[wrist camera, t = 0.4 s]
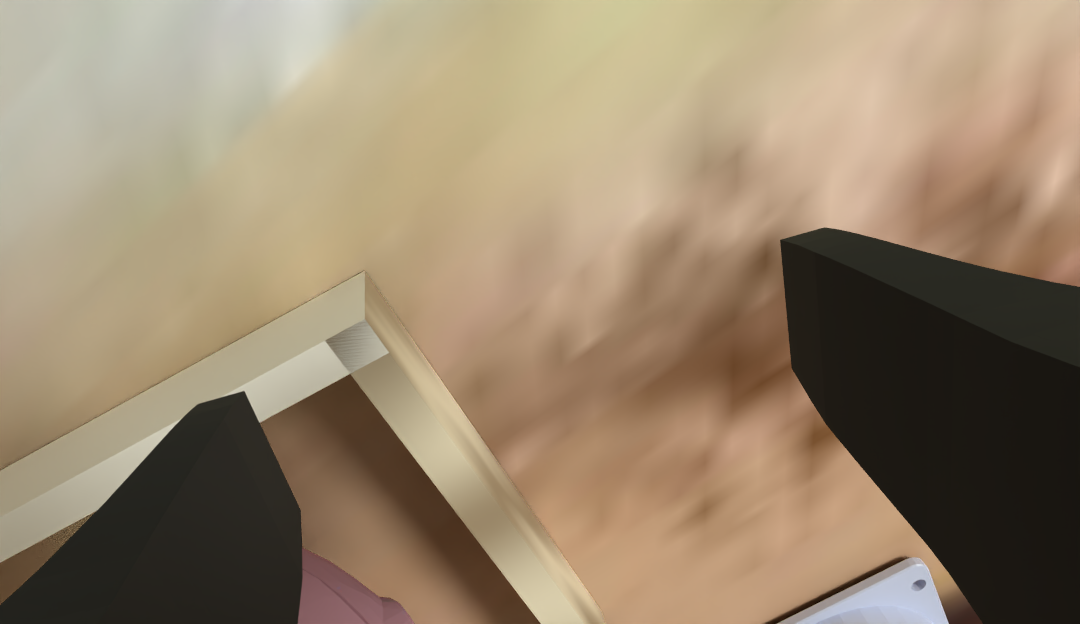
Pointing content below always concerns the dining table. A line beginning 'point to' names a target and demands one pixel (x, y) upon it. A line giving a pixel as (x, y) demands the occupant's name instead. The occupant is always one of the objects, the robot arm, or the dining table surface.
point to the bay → (279, 382)
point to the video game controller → (342, 597)
